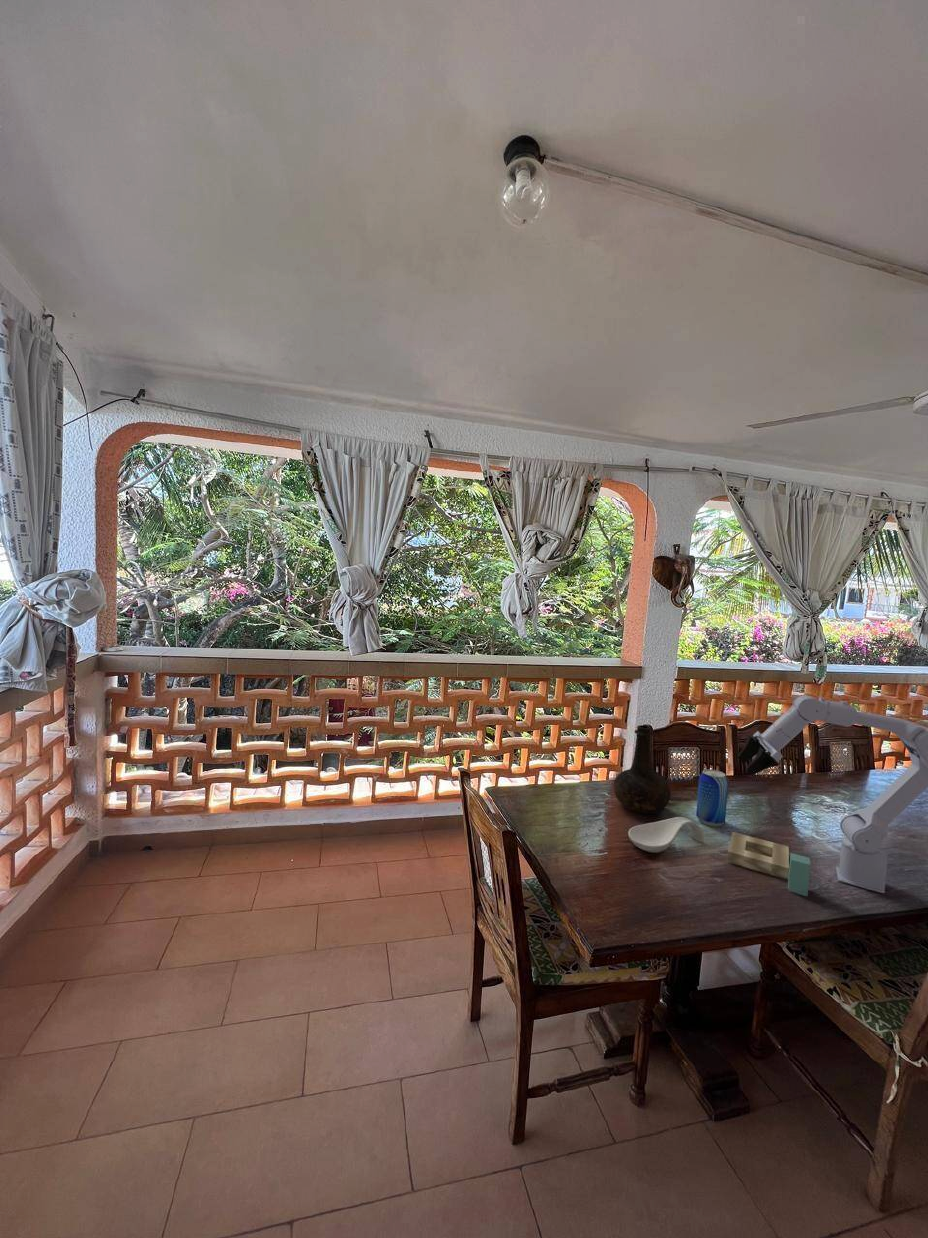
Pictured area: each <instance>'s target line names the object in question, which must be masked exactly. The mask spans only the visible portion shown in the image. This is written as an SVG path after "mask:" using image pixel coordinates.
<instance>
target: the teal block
mask: <svg viewBox="0 0 928 1238" xmlns="http://www.w3.org/2000/svg"><path fill="white" fill-rule="evenodd" d="M789 857H790V858H789V874H788V879H787V891H788V892H791V893H794V894H797V895H801V896H804V897H808V895H809V886H810V884H809V883H810V872H811V858H810V857H807V856H803V855H800V854H796V853H793V852H790V855H789Z"/></svg>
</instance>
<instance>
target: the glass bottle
mask: <svg viewBox="0 0 928 1238" xmlns="http://www.w3.org/2000/svg"><path fill="white" fill-rule="evenodd" d="M636 728H637V729H635V730H634V734H636V739H635V740H636V741H635V747H634V754H633V758H632V764H631V767H630V768H629V769H626V770H623V771H621V772H619V774H617V775H616V777H615V779H614V782H613V792H614V795H615V797H616V799H617V801H618V802H619V803H620V804H621V805H622V806H623V807H624V808H625V809H627V810H629V811H631V812H634V813H638V814H641V815H642V814H643V815H651V814H657V813H659V812H661V811H663V810H664V809H666V807H667V806H668V804H669V803H670V799H671V788H670V785H669V783H668V782H667V780H666V779H665V778H664V776H663V775H662V774H661V773H660V772H658V771H656V770H654V769H653V764H652V763H653V762H652V755H651V754H652V751H651V744H652V743H651V737H652V736H651V735H653V734H654V732H653V731H652V727H651V726H649V725H646V724H644V725H643V724H640V725H637V727H636Z"/></svg>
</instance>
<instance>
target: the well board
mask: <svg viewBox="0 0 928 1238" xmlns="http://www.w3.org/2000/svg"><path fill="white" fill-rule="evenodd" d="M789 850H790V849H789V846H788V845H785V844H781V843H776V842H773V841H769V840H764V839H761V838H759V837H758V838H757V837H754V836H750V835H746V834H742V833H739V832H735V831H732V833H731V838H730V843H729V847H728V850H727V861H726V862H727V863H728V864H733V865H736V866H740V867H743V868H746V869H749V870H750V869H751V870H754V871H757V872H761V873H763V874H767V875H771V876H774V877H778V878H781V879H784V880H788V878H789V867H790V858H789V857H790V855H789V854H790V853H789Z"/></svg>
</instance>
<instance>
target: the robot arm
mask: <svg viewBox="0 0 928 1238" xmlns="http://www.w3.org/2000/svg"><path fill="white" fill-rule="evenodd" d="M818 721H819V722H823V723H827V724H832V725H837V726H840V727H841V726H842V727H846V728H848V727H851V726H853V725H856V724H857V725H861V726H865V727H870V728H874V729H878V730H882V731H886V732H891V733H893V734H894V735H895V736H897V737H899V740H900V742H901V743H902V744H903V746H904V748H905V749H906V750H907V751H908V754H909V755H908V756H909V758H910V762H911V764H910V765H909V766H908V767H907V768H906V769H905V770H904V771H903V772H902V773H901V774H900V775H899V776H898V777H897V778H896V779H895V780H893V782H892V783H891V784H890V785H888V786H887V787H886V789H884V790H883V792H881V793H880V794H879V795H878V796H877V797H876V798H875V799H874V800H873V801H872V802H871V803H870V804H869V805H868V806H867V807H865V808H859V809H857V810H856V811H855V812H853V813H852V814H851V813H850V814H848V815H844V816H843V818H841V820H840V822H839V828H840V830H841V832H842V833H843V837H842V839H841V847H840V855H839V866H835V872H836V876H837V877H836V878H837V880H838V881H839V882H841V883H844V884H847V885H852V886H855V887H858V888H859V887H860V888H861V889H862V888H863V889H865V890H870V891H873V892H876V893H881V894H885V893H886V891H885V890H886V881H887V872H888V871H887V870H888V858H887V854H886V852H883V851H879V850H880V849H881V848H882V844H883V841H884V840H885V838H886V837H888V832H889V830H888V829H889V825H890V824H891V823H892V822H893V821H894V820H895V819H897V817H898V816H900V814H901V813H902V812H904V811H905V810H906V809H908V807H909V806H910V805H911V804H912V803H913V802H914V801H915V800H916V799H917V798H919V797H920V796H921V794H923V793H924V792H925V791H926V790H927V789H928V727H926V726H924V725H923V724H921V723H917V722H912V721H910V720H907V719H903V718H899V717H894V716H888V715H881V714H876V713H872V712H871V713H869V712H863V711H858V710H856V708H855V707H854V706H853V705H851V704H849V702H848V701H845V700H840V702H837V701H832V700H827V699H826V698H825V697H819V698H818V699H817V698H814V697H813V696H811V695H805V694H804V695H802V696H801V695H800V696H798V697H795V698H794V699H793V700H792V705H791V707H790V708H789V709H787V710H786V711H785V712H784V713H783V714H781V716H779V717H778V718H777V719H776V720H775V721H774V722H773V723H772V724H771V725H770V726H769V727H768V728H766V730H765V731H764V732H762V733H761V732H760V731H759V730H757V731H756V732H755V733H754V734H753V735H752V736H753V737H752V736H751V735H750V734H748V735H747V736H746V739H745V743H744V745H743V747H742V749H741V751H740V752H739V754H738V756H737V759H738V760H739V761H740V762H741V763H742V764H744V763H747V762H748V761H750V760H751V759H752V761H751V762H750V763H749V764H748V765H747V767H746V768H745V770H746V772H748V773H749V774H750V775H752V776H754V775H757V774H758V773H760V772H762V771H764V770H767V769H769V768H773V767H778V766H779V765H780V763H779V761H780V760H781V759H782V758H784V756H783V755H782V753H781V750H782V749H783V748H784V747H785V746H787V745H788V744H789V743H790V742H791V741H793V739H794V738H795V737H796V736H798V735H799V734H800V733H801V732H802V731H803V730H804V729H805V728H806V727H807V726H808V725H809V724H810V723H812V722H818ZM753 757H754V758H753Z"/></svg>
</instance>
